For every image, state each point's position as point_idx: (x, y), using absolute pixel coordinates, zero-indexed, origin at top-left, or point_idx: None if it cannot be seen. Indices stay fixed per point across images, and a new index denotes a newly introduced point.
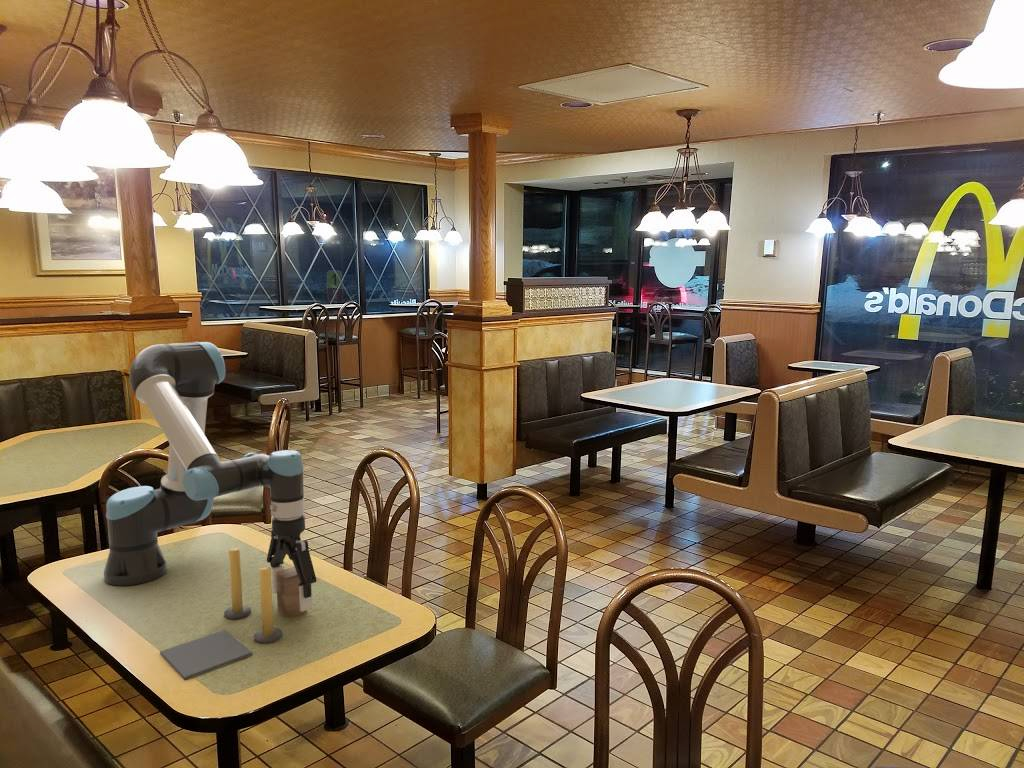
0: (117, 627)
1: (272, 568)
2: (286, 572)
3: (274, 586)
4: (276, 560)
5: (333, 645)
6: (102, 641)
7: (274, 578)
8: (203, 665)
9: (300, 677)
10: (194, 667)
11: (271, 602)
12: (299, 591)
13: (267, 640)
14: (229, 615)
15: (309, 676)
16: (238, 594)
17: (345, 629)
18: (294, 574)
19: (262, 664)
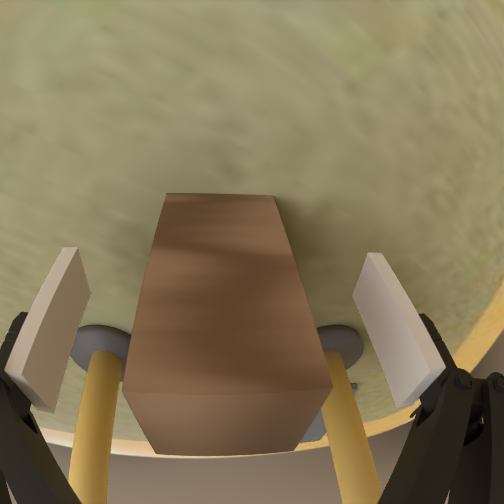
0: (70, 437)
1: (42, 410)
2: (210, 442)
3: (78, 322)
4: (57, 469)
5: (496, 260)
6: (110, 452)
7: (66, 357)
8: (315, 429)
9: (480, 342)
10: (307, 434)
11: (367, 443)
12: (387, 374)
13: (351, 365)
14: None
15: (491, 332)
16: (113, 416)
17: (492, 189)
18: (290, 428)
19: None
